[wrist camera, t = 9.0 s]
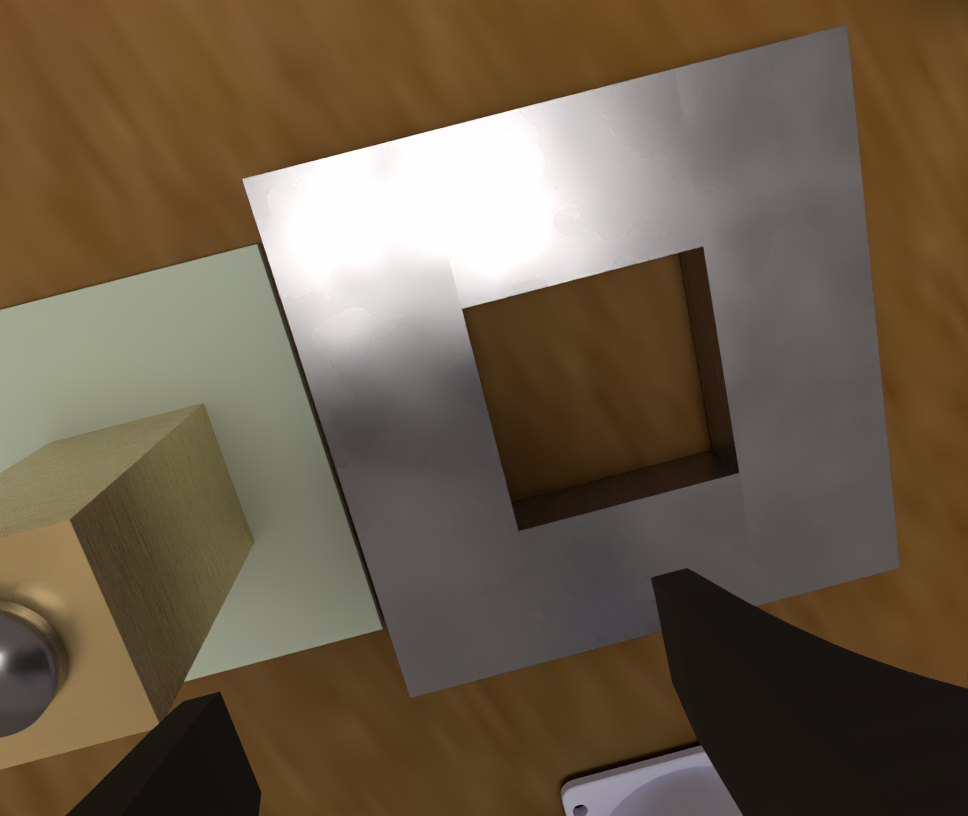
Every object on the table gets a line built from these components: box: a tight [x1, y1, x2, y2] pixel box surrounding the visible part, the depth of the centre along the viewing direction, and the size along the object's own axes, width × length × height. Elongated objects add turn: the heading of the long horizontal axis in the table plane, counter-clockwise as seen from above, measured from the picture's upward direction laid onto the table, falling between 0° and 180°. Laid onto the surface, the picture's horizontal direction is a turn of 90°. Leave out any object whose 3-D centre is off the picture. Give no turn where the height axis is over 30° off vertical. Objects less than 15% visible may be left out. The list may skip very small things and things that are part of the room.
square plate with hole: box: [242, 25, 900, 698], centre depth 20 cm, size 15×15×2 cm
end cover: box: [0, 403, 255, 769], centre depth 17 cm, size 4×4×9 cm
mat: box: [0, 244, 383, 682], centre depth 21 cm, size 12×10×1 cm
